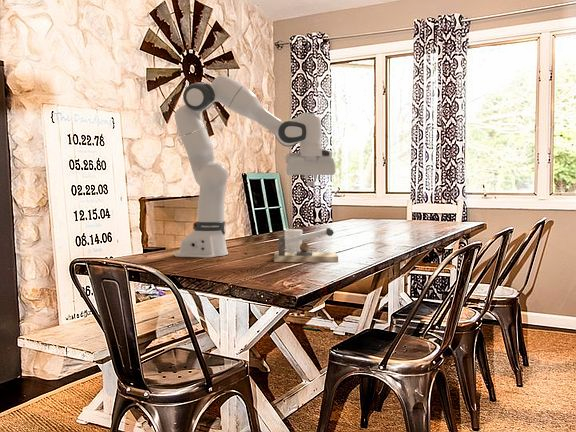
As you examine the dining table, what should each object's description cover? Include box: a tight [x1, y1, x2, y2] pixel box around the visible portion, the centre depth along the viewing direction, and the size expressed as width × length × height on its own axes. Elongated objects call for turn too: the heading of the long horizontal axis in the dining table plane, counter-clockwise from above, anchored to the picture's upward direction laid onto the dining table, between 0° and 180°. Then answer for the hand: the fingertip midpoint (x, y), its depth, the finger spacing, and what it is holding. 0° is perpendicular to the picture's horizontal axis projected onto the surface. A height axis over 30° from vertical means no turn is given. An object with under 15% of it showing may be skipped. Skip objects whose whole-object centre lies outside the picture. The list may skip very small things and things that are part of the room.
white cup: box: [283, 228, 304, 252], centre depth 240 cm, size 8×8×10 cm
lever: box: [285, 227, 334, 244], centre depth 220 cm, size 22×6×3 cm, turn 91°
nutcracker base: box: [273, 235, 339, 263], centre depth 221 cm, size 25×12×9 cm, turn 90°
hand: (310, 186), depth 229 cm, fingers closed
